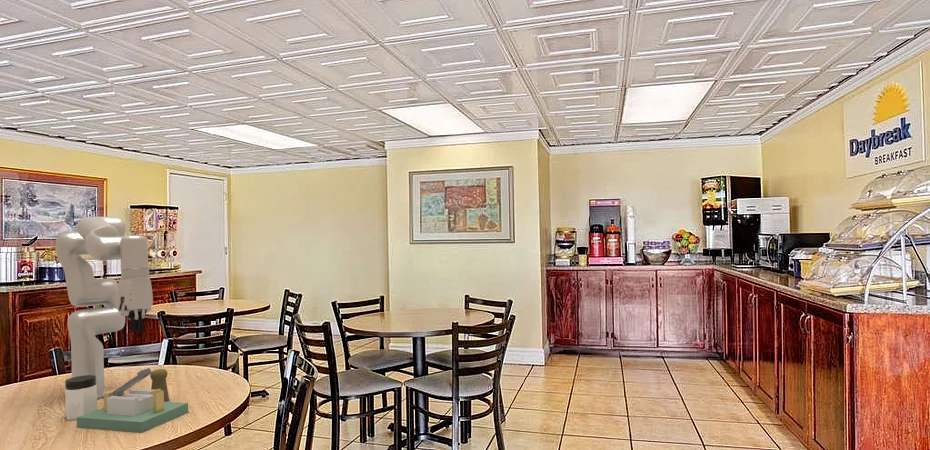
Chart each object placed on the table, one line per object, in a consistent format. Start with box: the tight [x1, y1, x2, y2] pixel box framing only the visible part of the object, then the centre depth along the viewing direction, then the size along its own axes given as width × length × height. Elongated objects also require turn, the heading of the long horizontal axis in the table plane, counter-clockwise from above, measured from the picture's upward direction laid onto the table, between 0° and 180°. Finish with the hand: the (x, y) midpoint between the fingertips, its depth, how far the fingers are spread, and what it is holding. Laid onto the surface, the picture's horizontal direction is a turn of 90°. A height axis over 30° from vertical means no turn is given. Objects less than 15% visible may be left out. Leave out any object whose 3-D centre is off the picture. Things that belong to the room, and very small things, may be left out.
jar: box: [64, 375, 98, 421], centre depth 175 cm, size 9×8×12 cm
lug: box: [151, 389, 164, 413], centre depth 167 cm, size 2×3×6 cm, turn 165°
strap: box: [113, 367, 152, 395], centre depth 170 cm, size 13×3×2 cm, turn 75°
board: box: [76, 388, 189, 433], centre depth 169 cm, size 24×18×8 cm
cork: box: [149, 368, 170, 402], centre depth 188 cm, size 6×6×11 cm
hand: (137, 331), depth 173 cm, fingers closed
